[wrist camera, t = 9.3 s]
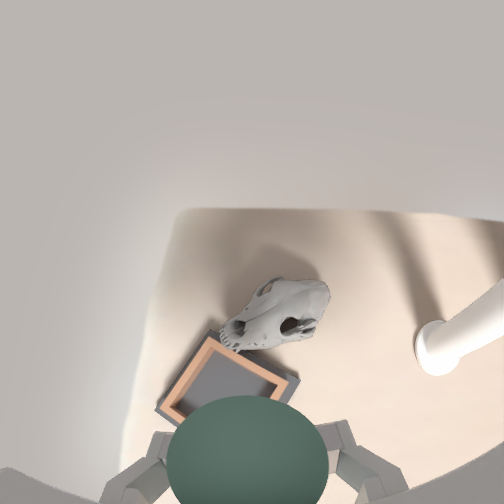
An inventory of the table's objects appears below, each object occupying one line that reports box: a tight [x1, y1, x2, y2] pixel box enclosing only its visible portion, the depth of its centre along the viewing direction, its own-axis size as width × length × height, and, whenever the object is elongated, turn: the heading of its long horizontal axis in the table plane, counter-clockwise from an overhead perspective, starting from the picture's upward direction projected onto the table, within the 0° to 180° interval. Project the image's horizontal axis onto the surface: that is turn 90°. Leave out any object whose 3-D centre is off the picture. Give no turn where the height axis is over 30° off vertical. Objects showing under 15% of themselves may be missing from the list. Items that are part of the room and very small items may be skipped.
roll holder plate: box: [155, 329, 301, 428], centre depth 28 cm, size 12×12×3 cm
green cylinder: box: [166, 395, 329, 504], centre depth 10 cm, size 5×5×8 cm
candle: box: [415, 278, 504, 375], centre depth 19 cm, size 7×7×25 cm
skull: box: [219, 276, 331, 353], centre depth 30 cm, size 8×9×12 cm
